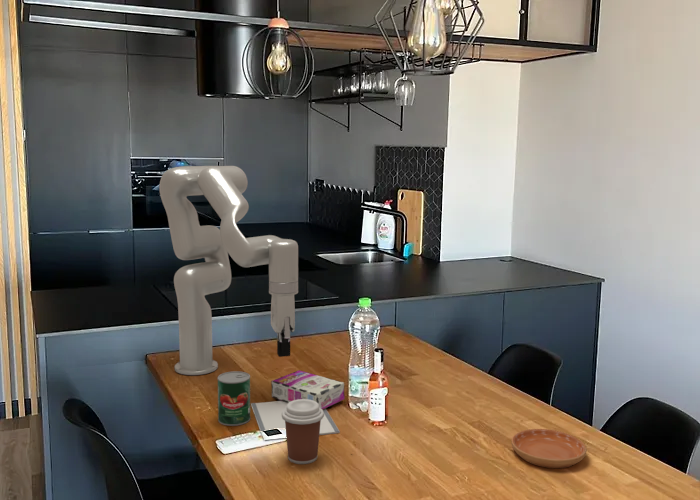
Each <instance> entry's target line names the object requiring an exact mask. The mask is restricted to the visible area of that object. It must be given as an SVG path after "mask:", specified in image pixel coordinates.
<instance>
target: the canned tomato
mask: <svg viewBox="0 0 700 500" xmlns="http://www.w3.org/2000/svg"><path fill="white" fill-rule="evenodd" d="M217 412H218V413H217V415H218V417H217V420H218V423H219V424H221V425H224V426H228V427H230V426H231V427H236V426H242V425H245V424H247V423H249V422H250V421H251V375H250V373H248V372H245V371H237V370H236V371H235V370H234V371H228V372H227V371H226V372H222V373H221V374H219V375H218V376H217Z"/></svg>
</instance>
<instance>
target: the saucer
mask: <svg viewBox="0 0 700 500" xmlns="http://www.w3.org/2000/svg"><path fill="white" fill-rule="evenodd" d="M511 446H512V448H513V450H514V451H515V453H516V454H517V455H518V456H519V457H521V459H523V460H524V461H526V462H528V463H529V464H532V465H534V466H538V467H542V468H547V469H565V468H569V467H573V466H575V465H576V464H578V463H579V462H581V461H582V460H584V458H585V457H586V455H587V450H588V449H587V445H585V443H584V442H583V441H582V440H581V439H579V438H578V437H577V436H574V435H573V434H572V435H571V434H570V433H567V432H564V431H559V430H554V429H547V428H530V429H525V430H521V431H518V432H516V433H515V434H514V435H513V436H512V438H511ZM572 465H573V466H572Z"/></svg>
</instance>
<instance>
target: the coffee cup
mask: <svg viewBox="0 0 700 500" xmlns="http://www.w3.org/2000/svg"><path fill="white" fill-rule="evenodd" d="M323 417H324V412H323V410H322V409H321V408H320V407H319V404H318V403H317V402H315V401H313V400H309V399H298V400H293V401H291V402H289V403H288V404H287V405H286V408H285V409H284V410H283V411H282V419H283V420H285V426H286V437H287V439H286V448H287V459H288V460H289V461H290V463H293V464H296V465H309V464H312V463H314V462H316V461H317V459H318V457H319V455H318V453H319V444H320V442H319V441H320V435H319V433H320V423H321V420H322V418H323Z"/></svg>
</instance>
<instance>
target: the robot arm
mask: <svg viewBox="0 0 700 500" xmlns="http://www.w3.org/2000/svg"><path fill="white" fill-rule="evenodd" d="M248 181H249V180H248V177H247V174H246V173H245V171H243V169H242V168H240V167H239V166H236V165H192V166H191V165H187V166H184V165H183V166H176V167H171V168H169V169H167V170H166V171H164V173H163V174H162V175H161V177H160V181H159V189H158V190H159V196H160V198H161V202H162V205H163V207H164V209H165V212H166V216H167V221H168V227H169V233H170V237H171V239H170V240H171V243H172V244H171V245H172V247H173V252H174V255H175V256H176V258H178V259H179V260H182V261H191V260H198V259H204V261H205V262H198V263H192V264H187V265H184V266H182V267H180V268H179V269H178V270H176V271H175V273H174V276H173V284H174V285H173V286H174V289H175V290H174V291H175V294H176V299H177V307H178V308H177V310H178V311H177V312H178V313H177V314H178V336H179V339H178V341H179V343H178V344H179V361H178V362H177V363H176V364H174V371H175V372H176V373H178V374H180V375H185V376H199V375H200V376H201V375H206V374H209V373H210V374H211V373H212V372H215V371H216V370H217V369H218V368H219V363H218V361H216V360H214V359H213V325H212V323H213V322H212V321H213V320H212V319H213V317H212V309H211V305H210V304H209V302H208V300H207V299H206V297H205V296H208V295H210V294H211V295H212V294H215V293H220V292H221V293H222V292H224V291H225V290H227V289H228V288H229V287H230V285H231V283H232V269H231V264H230V259H229V256H230V257H231V259H232V260H233V261H234V262H235V263H236V264H237V265H238V266H240V267H242V268H250V267H251V268H252V267H257V266H263V265H268V294H269V295H271V301H270V304H271V306H270V326H271V328H272V330H273V331H274V332H275V333H276V335H277V338H276V339H277V340H276V342H277V343H276V348H277V349H276V354H277V356H278V357H282V358H283V357H290V356H291V333H294V332H295V330H296V328H295V327H296V321H295V320H296V314H295V313H296V311H295V310H296V308H295V302H296V301H295V295H297V294H298V293H299V245H298V242H297V241H296V240H293V239H291V238H289V239H288V238H282V237H279V236H276V235H272V234H268V235H260V236H259V235H258V236H253V237H245V235H244V234H243V233H242V231H241V230H240V229H239V227H238V225H237V223H238V222H239V221H241V220H242V219H243V218H244V217H245V216H246V214H247V213H248V212H249V208H250V206H249V203H248V202H249V201H247V199H246V198H245V197H244V195H243V193H245V191H246V190H247V188H248V183H249V182H248ZM189 196H204V197H205V199H206V200H207V201H208V203H209V205H210V206H211V207H212V209H213V210H214V211H215V212H216V214H217V216H218V217H219V218H220V219H221V221H220V225H219V228H218V227H217V226H216V225H207V224H206V225H200V221H199V215H198V212H197V209H196V208H195V206H194V204H193V203H192V202H191V201H190V200H189V199H188V198H187V197H189Z"/></svg>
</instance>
